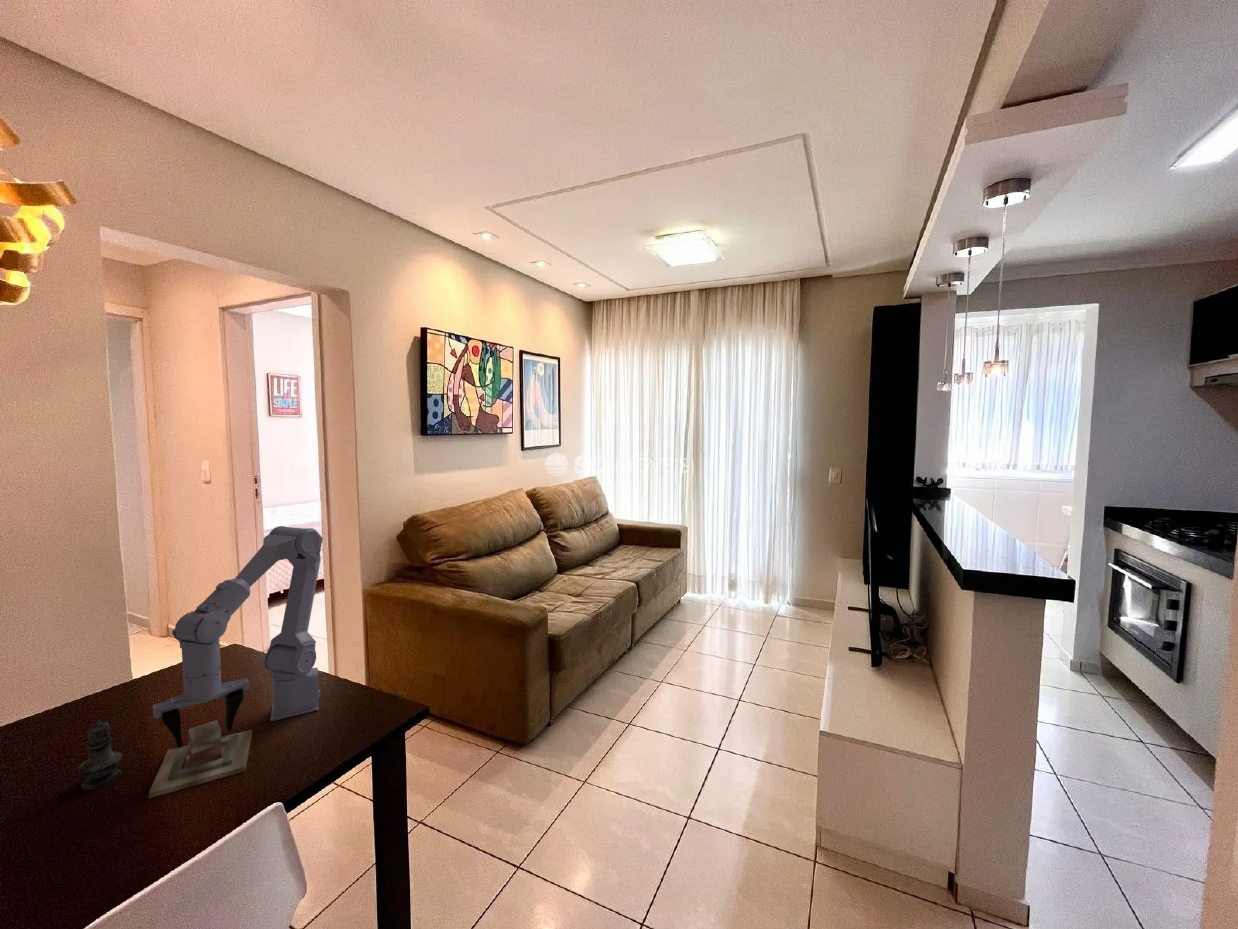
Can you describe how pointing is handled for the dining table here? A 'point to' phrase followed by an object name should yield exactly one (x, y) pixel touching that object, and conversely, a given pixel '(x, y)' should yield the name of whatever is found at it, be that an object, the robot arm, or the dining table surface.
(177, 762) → the pocket board
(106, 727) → the dark grey chess piece
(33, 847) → the dining table surface
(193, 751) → the brown and beige block
